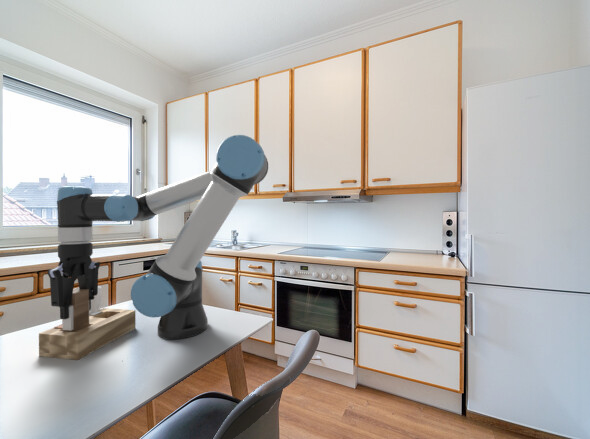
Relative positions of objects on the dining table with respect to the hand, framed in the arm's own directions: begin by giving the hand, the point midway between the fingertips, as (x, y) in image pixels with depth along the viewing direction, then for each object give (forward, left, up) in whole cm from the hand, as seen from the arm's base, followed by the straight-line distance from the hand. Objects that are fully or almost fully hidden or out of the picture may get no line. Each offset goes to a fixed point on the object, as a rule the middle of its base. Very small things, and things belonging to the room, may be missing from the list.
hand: (76, 326), depth 76 cm
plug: (0, 0, -2) cm, 2 cm away
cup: (+14, -16, -7) cm, 22 cm away
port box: (0, -5, -6) cm, 8 cm away
